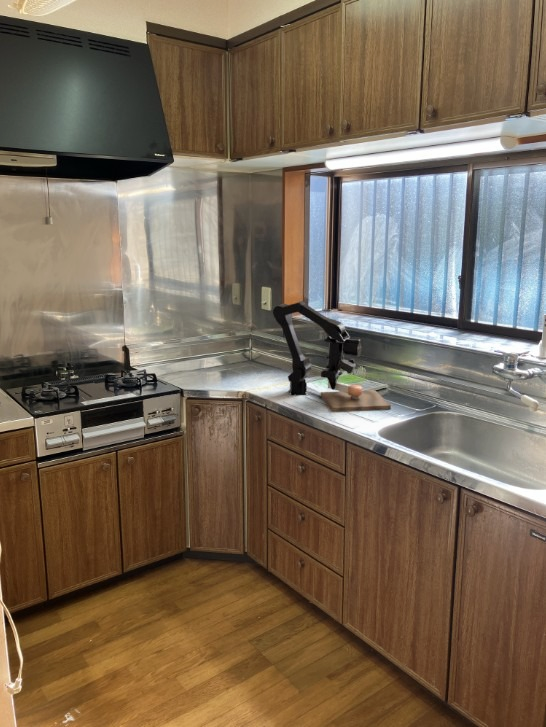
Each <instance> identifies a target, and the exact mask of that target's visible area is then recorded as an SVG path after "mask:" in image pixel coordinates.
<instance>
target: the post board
mask: <svg viewBox="0 0 546 727" xmlns="http://www.w3.org/2000/svg"><path fill="white" fill-rule="evenodd" d="M320 395H321V396H320V397H321V398H322V399H323V401H324V402H325V404H326V405H327V407H328V408H329V409H330V411H331V412H352V411H354V412H355V411H371V410H372V411H375V410H391V409H392V408H391V404H390V403H389V402H388V401H387V400H386V399H385V398H384V397H382V395H381V394H380V393H378V392H377V391H376V390H375V389H373V390H372V389H370V390H368V389H367V390H362V395H361V396H351V395H349V394H348V393H345V392H342V391H321V392H320Z"/></svg>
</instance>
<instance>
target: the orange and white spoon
mask: <svg viewBox="0 0 546 727" xmlns="http://www.w3.org/2000/svg"><path fill="white" fill-rule="evenodd" d="M327 389H330V390H332V388H331V386H330V383H329V381H328V380H327ZM334 390H335V391H337V392H339V391H342V392H345V393H348V394H349V395H351V396H361V395H362V391H363V387H362V386H361V385H360V384H359V385H357V384H347V383H344V382H339V381H337V383H336V386H335V389H334Z"/></svg>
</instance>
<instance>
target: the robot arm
mask: <svg viewBox="0 0 546 727" xmlns="http://www.w3.org/2000/svg"><path fill="white" fill-rule="evenodd" d="M294 313H295V314H296V313H298V314H300V315H301V316H303V317H305V318H307V319H308V320H310V321H311V322H313V323H315V324H316V325H317V326H320V328H322V330H323V331H324V333H326V334H327V338H325V339H324V340H323V341H324V342H325V343H328V354H327V356H326V359H327V364H326V366H325V368H324V369H323V370H322V371H320V377H321V378H326V379H327V382H328V381H329V383H330V386H331V388H332V389H331V390H334V389H335V386H336V383H337V382H338V381H339V378H340V376H341V375H343V373H344V372H342V371H340V370H343V371H345V372H346V373H347V374H352V373H353V372H354V370H355V368H356V365H357V364H356V360H355V359H353V358H350V359H349V360H348V359H345V356H344V355H346V356H351V357H352V356H353V357H361V354H362V349H363V347H362V343H361V339H358V338H357V339H355V338H351V336H350V335H349V333H348V332H347V331H346V325H345V324H344V323H343V322H341V321H339V320H336V319H332V318H329V317H327V316H325V315H323V314H322V313H320V311H317V310H316V309H314V308H313V307H312V306H310V305H308V304H306V302H304V301H298V302H295V303H291V304H287V303H282V304H279V305H276V306H275V307H274V308H273V310H272V315H273V317H274V320H275V322H276V323H277V324H278V325H279V326H280V327H281V330H282V332H283V335H284V339H285V341H286V343H287V347H288V350H289V352H290V355H291V359H292V360H291V367H292V368H291V369H292V372H291V373H290V374H288V376H287V378H288V381H289V390H288V392H289V394H290V396H306V395H307V386H308V384H307V382H306V378H307V377H308V376H309V374H310V373H311V372H312V366H313V364H312V363H311V359H310V358H309V356H308V357H305V355H304V354H303V351H302V348H301V345H300V343H299V340H298V337H297V334H296V331H295V328H294V325H293V314H294Z"/></svg>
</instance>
